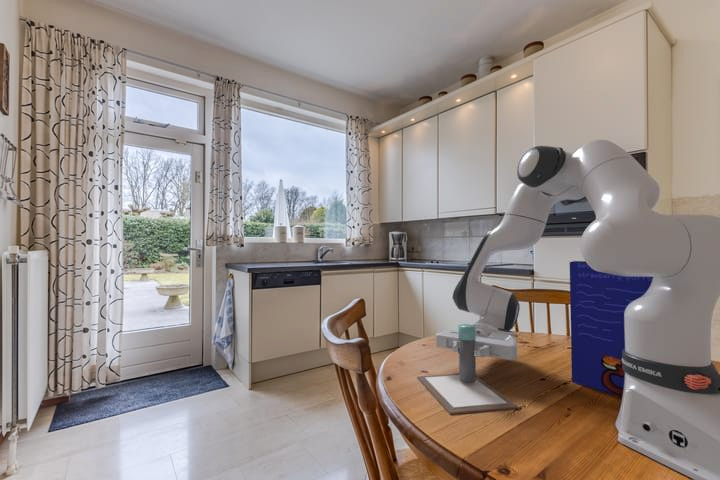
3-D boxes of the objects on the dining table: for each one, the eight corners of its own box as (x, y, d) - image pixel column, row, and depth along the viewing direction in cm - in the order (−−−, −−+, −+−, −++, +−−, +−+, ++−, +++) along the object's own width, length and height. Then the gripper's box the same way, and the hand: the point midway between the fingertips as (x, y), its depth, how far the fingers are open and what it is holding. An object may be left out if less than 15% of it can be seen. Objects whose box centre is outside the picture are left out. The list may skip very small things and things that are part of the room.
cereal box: (701, 409, 68) (697, 263, 69) (695, 418, 65) (690, 264, 65) (581, 376, 86) (579, 260, 86) (571, 382, 82) (569, 261, 83)
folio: (517, 408, 68) (517, 405, 69) (450, 414, 66) (450, 411, 66) (471, 374, 87) (471, 371, 87) (417, 378, 85) (417, 375, 85)
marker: (479, 382, 79) (478, 327, 79) (463, 383, 78) (463, 328, 78) (470, 376, 83) (470, 323, 83) (456, 377, 82) (455, 324, 82)
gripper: (445, 322, 97) (425, 332, 86) (521, 332, 85) (510, 345, 74) (445, 344, 97) (425, 356, 86) (521, 357, 85) (511, 373, 74)
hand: (466, 351), depth 80 cm, fingers closed on marker, 4 cm apart
